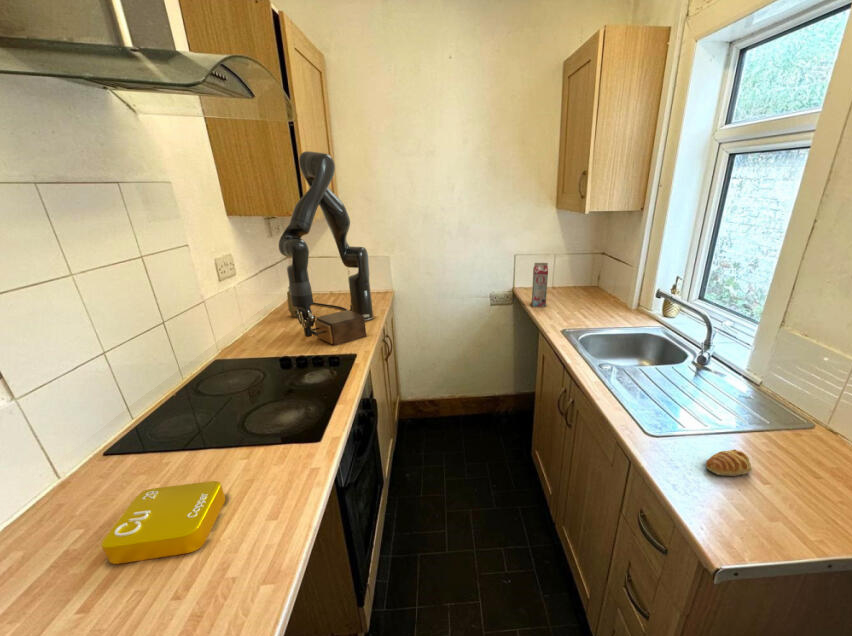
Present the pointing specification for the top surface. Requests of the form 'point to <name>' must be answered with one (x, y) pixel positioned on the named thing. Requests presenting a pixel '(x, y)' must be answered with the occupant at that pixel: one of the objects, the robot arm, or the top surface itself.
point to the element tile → (165, 522)
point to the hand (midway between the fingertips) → (308, 336)
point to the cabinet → (345, 326)
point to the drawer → (323, 331)
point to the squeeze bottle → (290, 306)
